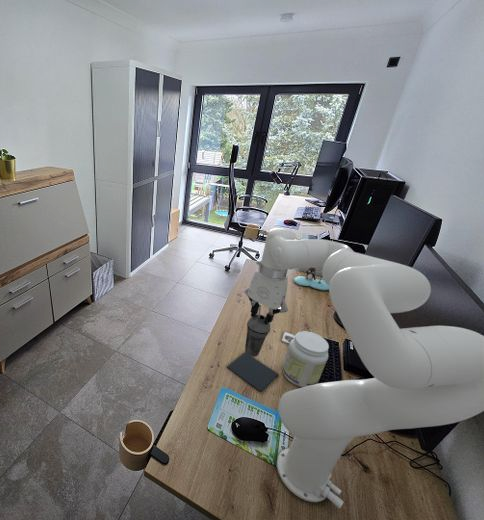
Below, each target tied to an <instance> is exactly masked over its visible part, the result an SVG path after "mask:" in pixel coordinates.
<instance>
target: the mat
mask: <svg viewBox="0 0 484 520" xmlns="http://www.w3.org/2000/svg"><path fill="white" fill-rule="evenodd" d="M226 368H228V370H230V371H231V372H232V373H233V374H235V375H237V376H238V377H239V378H240V379H242V380H243V381H244V382H246V383H247V384H249V385H250V386H251V387H253V388H254V389H256V390H257V391H258V392H260V393H261V392H262V391H263V390H264V389H266V387H268V385H270V384H271V383H272V382H273V381H274V379H275V378H277V377H278V375H279V373H277V372H276V371H274V370H273V369H271V368H270V367H268V366H266V365H265V364H264V363H262V362H261V361H260V360H258V359H256V358H255V357H252V356H249V355H248V354H246V352H243V353H242V354H241V355H240V356H239V357H237V358H236V359H235V360H233V361H232V362H231V363H230V364H228V365H227V366H226Z"/></svg>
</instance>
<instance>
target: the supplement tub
mask: <svg viewBox="0 0 484 520" xmlns="http://www.w3.org/2000/svg"><path fill="white" fill-rule="evenodd" d="M294 335H295V337H294V339H292V340H291V342H290V344H288V347H287V350H286V354H285V357H284V360H283V363H282V366H281V369H282V373H283V375H284V377H285V379H287V380H288V381H289V382H290V383H291V384H293V385H295V386H298V387H299V388H302V387H306V386H310V385H314V384H319V381H320V378H321V376H322V374H323V371H324V369H325V366H326V364H327V361H328V360H329V348H330V346H329V345H330V344H329V342H328V341H327V340H326V339H325V338H324V337H322V336H321V335H319V334H317V333H315V332H312V331H307V330H303V331H302V330H301V331H298V332H297V333H296V334H294Z"/></svg>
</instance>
